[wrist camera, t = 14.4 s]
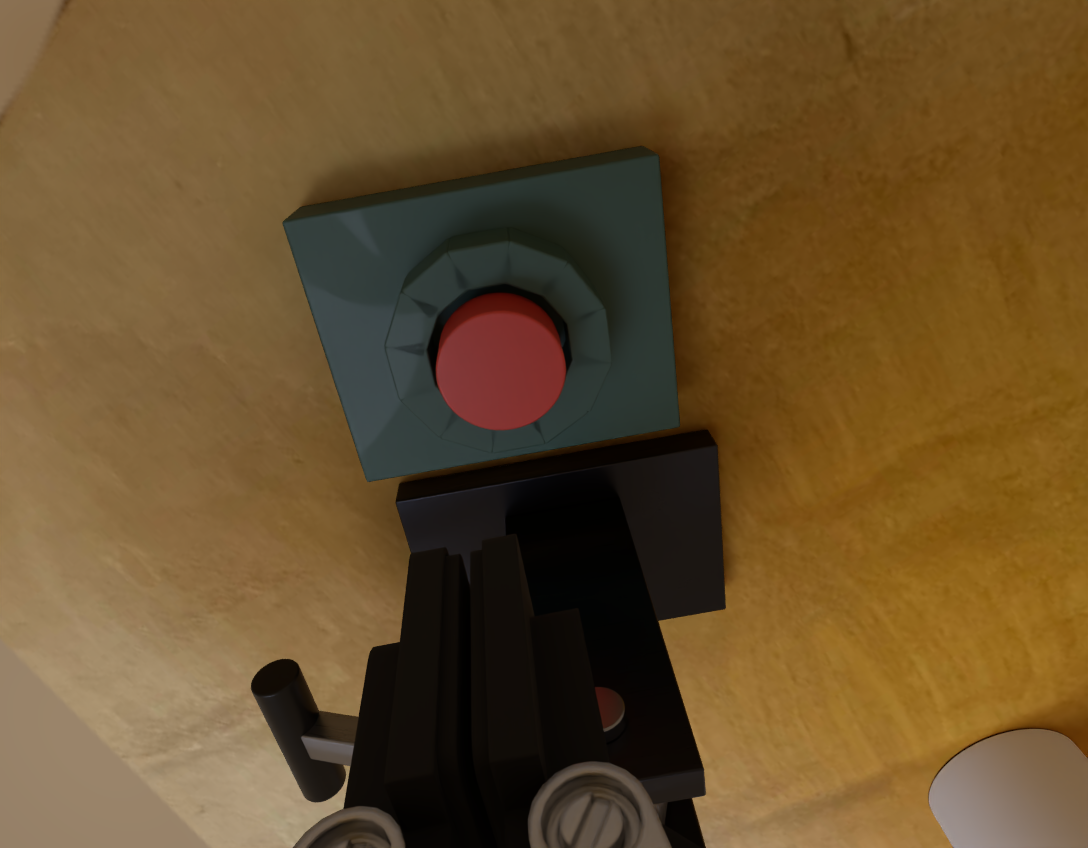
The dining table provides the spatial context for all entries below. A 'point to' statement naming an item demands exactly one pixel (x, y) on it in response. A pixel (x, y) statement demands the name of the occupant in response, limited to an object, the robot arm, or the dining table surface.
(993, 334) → the dining table surface
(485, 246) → the button box
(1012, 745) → the cup
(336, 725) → the lever
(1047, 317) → the dining table surface
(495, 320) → the button
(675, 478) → the bracket
